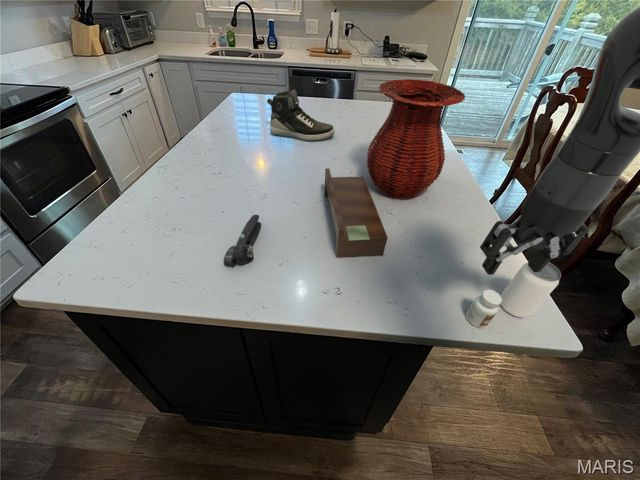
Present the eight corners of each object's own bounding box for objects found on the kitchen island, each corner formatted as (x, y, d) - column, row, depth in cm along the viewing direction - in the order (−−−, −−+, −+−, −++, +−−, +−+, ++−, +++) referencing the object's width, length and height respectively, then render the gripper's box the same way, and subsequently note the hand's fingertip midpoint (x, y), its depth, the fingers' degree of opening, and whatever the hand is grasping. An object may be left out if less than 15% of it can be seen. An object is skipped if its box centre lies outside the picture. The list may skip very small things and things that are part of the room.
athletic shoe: (274, 129, 132) (269, 85, 120) (335, 134, 128) (337, 89, 116) (266, 138, 124) (261, 92, 113) (332, 143, 120) (333, 96, 109)
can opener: (249, 273, 69) (246, 256, 65) (221, 268, 69) (216, 251, 66) (271, 225, 82) (269, 209, 78) (247, 222, 82) (244, 205, 79)
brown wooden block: (383, 257, 74) (390, 229, 68) (336, 259, 73) (339, 231, 67) (361, 193, 95) (364, 167, 88) (324, 194, 94) (325, 168, 87)
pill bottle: (483, 332, 59) (500, 310, 54) (462, 319, 61) (476, 297, 56) (490, 318, 62) (508, 296, 56) (470, 306, 64) (484, 283, 59)
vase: (358, 168, 106) (371, 76, 86) (422, 170, 107) (450, 79, 87) (366, 207, 89) (384, 103, 69) (443, 208, 90) (483, 106, 69)
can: (522, 294, 67) (552, 257, 58) (536, 319, 62) (571, 283, 54) (493, 293, 67) (519, 256, 58) (505, 318, 62) (536, 281, 54)
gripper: (536, 210, 37) (482, 289, 48) (637, 206, 38) (562, 284, 49) (503, 178, 42) (461, 256, 53) (593, 175, 43) (534, 252, 55)
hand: (510, 269), depth 51 cm, fingers open, 8 cm apart
